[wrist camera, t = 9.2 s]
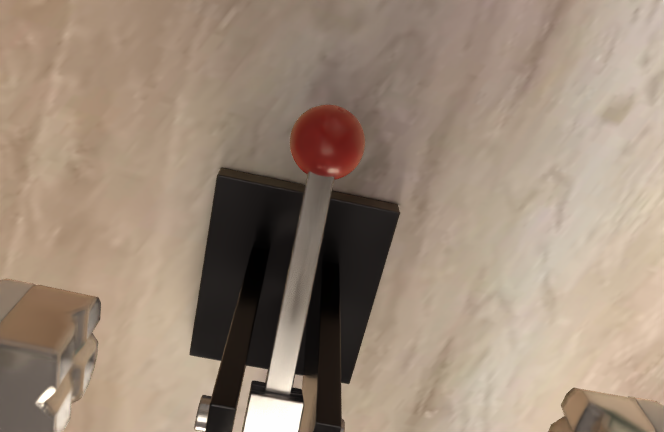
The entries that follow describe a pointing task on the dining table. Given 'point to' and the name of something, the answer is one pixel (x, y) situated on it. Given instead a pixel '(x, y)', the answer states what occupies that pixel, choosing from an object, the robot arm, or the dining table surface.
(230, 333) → the switch bracket
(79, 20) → the dining table surface
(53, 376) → the robot arm
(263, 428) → the switch lever
